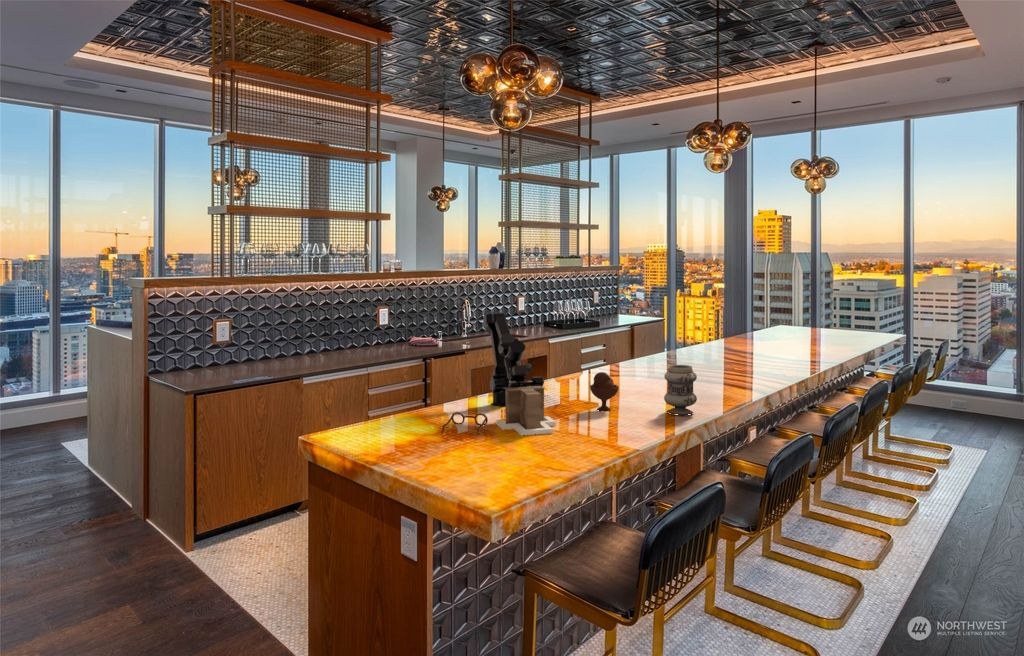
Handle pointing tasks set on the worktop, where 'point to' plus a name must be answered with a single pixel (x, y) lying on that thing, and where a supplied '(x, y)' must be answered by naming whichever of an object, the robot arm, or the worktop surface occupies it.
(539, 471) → the worktop surface
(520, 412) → the t block
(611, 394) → the ice cream bowl
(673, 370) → the apothecary jar
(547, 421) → the t outline
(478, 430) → the glasses
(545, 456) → the worktop surface
